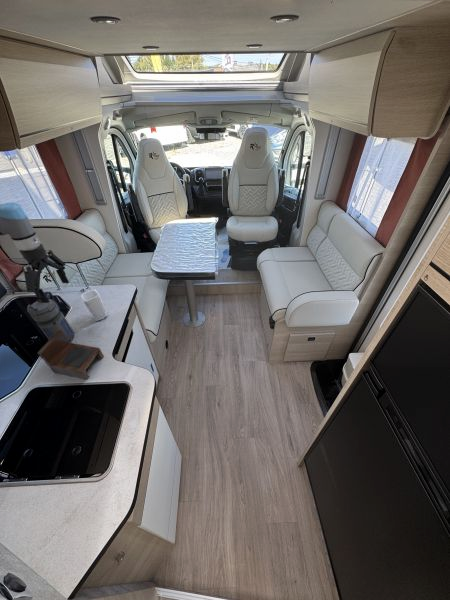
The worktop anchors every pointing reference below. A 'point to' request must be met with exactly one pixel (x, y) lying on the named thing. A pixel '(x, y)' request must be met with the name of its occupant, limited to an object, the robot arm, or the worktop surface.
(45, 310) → the beverage bottle
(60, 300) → the worktop surface
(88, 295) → the cup
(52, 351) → the shelf
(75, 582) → the worktop surface
